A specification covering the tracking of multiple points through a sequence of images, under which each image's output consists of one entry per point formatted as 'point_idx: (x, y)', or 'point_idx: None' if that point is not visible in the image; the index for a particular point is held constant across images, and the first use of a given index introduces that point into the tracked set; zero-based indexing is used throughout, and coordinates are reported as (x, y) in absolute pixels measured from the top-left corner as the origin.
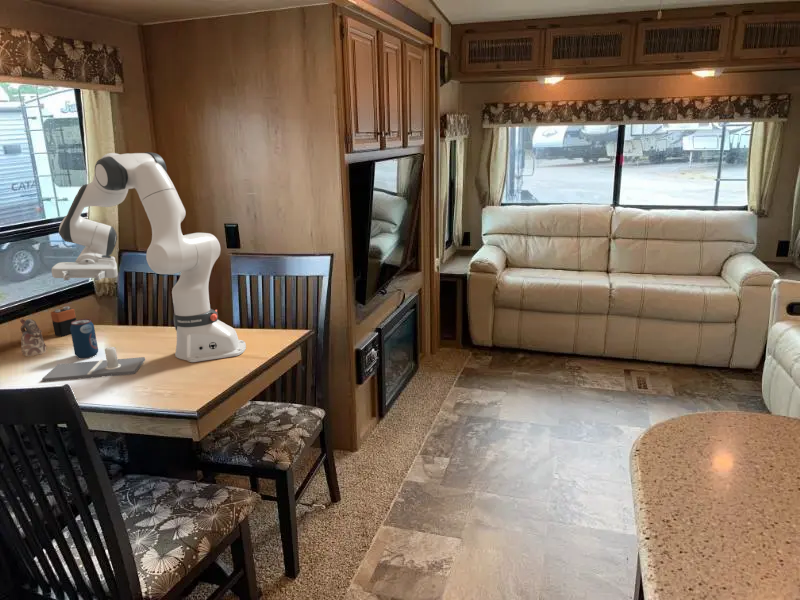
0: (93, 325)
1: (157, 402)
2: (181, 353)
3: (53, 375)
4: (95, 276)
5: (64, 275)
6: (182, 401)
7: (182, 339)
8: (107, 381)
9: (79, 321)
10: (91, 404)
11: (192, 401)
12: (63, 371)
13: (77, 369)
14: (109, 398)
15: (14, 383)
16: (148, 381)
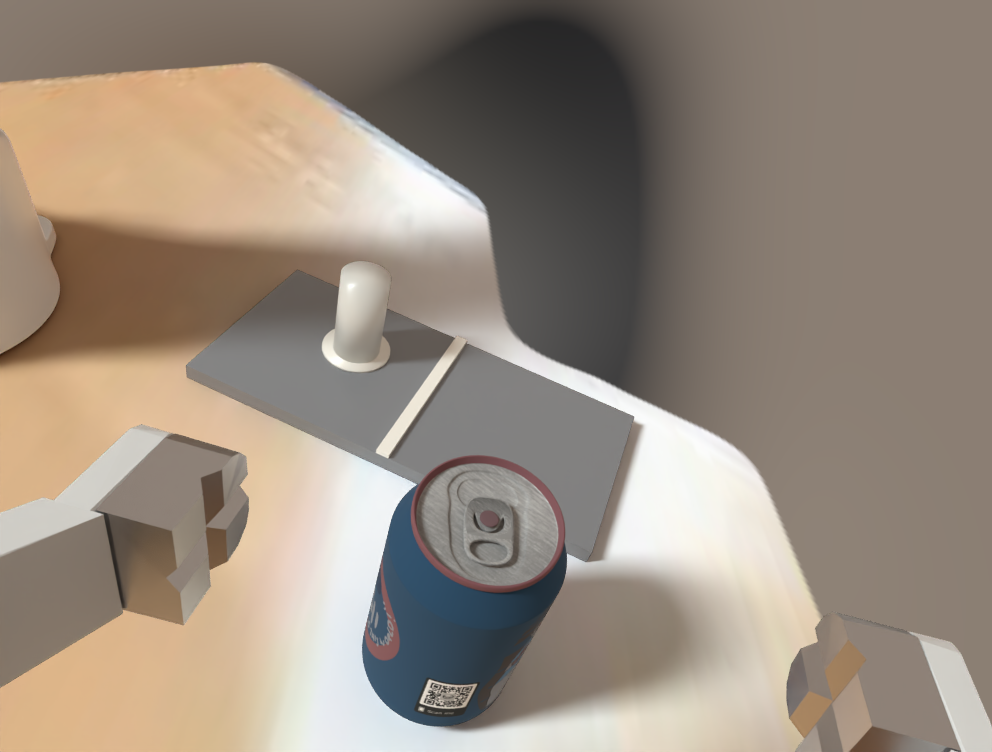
0: (394, 511)
1: (320, 121)
2: (45, 254)
3: (594, 420)
4: (230, 451)
5: (932, 644)
6: (267, 95)
7: (16, 184)
8: (403, 287)
9: (501, 538)
10: (471, 199)
11: (247, 84)
12: (558, 436)
13: (500, 419)
14: (422, 197)
15: (739, 483)
16: (283, 211)
